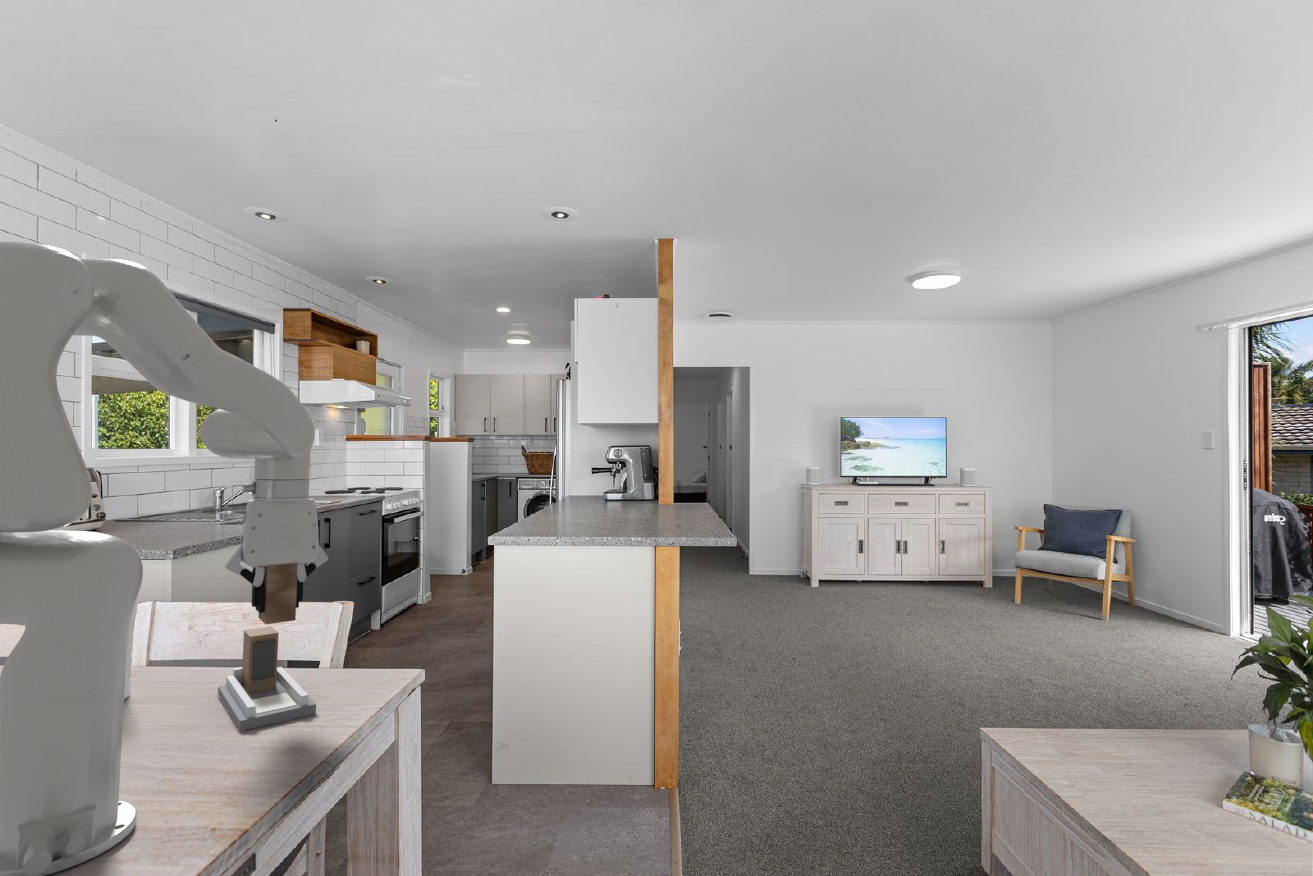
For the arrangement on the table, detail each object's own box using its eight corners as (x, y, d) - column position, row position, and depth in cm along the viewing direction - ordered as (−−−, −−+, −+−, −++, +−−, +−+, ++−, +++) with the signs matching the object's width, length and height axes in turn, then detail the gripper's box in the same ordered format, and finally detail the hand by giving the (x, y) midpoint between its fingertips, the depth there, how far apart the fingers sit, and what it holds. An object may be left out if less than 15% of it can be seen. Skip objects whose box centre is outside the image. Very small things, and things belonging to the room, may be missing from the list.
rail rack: (315, 714, 98) (318, 645, 98) (239, 731, 91) (242, 657, 92) (286, 682, 111) (288, 621, 112) (217, 695, 104) (220, 631, 105)
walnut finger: (265, 624, 95) (268, 564, 96) (257, 616, 100) (259, 559, 100) (295, 620, 98) (297, 561, 98) (286, 612, 102) (288, 556, 103)
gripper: (222, 493, 91) (216, 622, 90) (346, 491, 102) (342, 605, 102) (213, 490, 96) (208, 612, 96) (332, 488, 108) (328, 597, 107)
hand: (277, 607), depth 99 cm, fingers closed on walnut finger, 4 cm apart
